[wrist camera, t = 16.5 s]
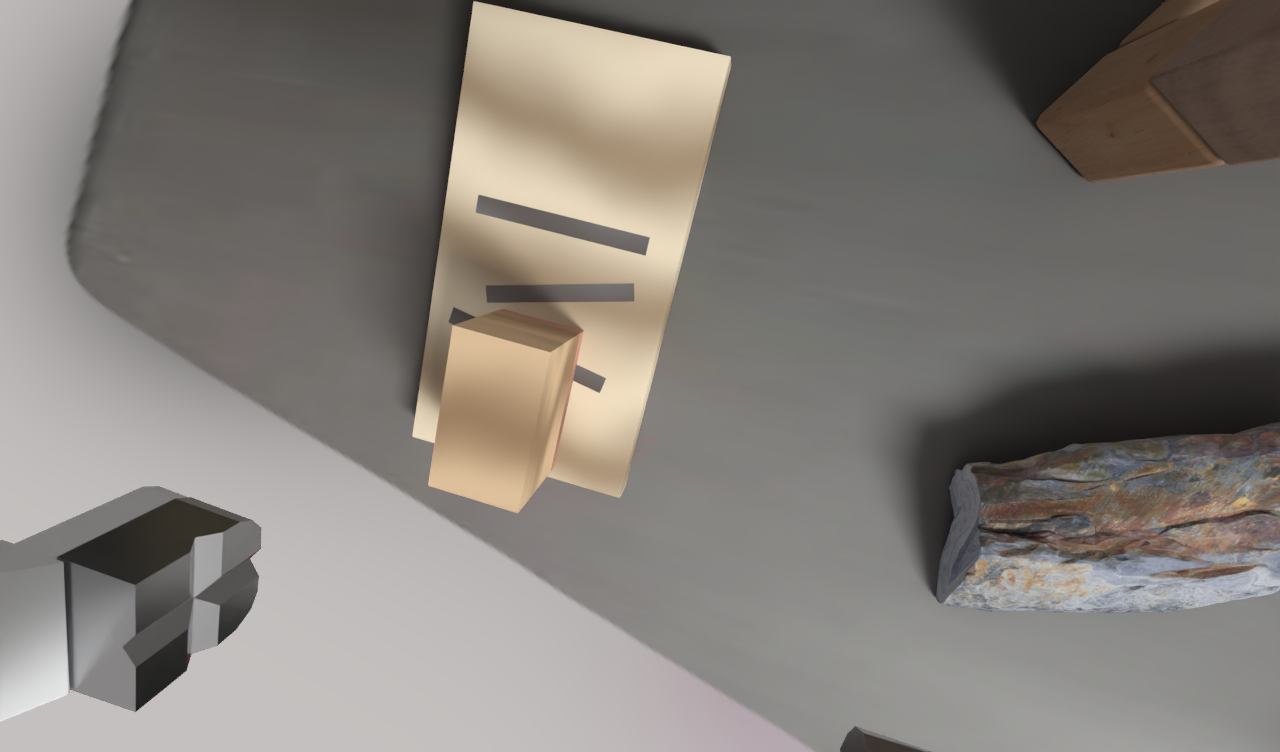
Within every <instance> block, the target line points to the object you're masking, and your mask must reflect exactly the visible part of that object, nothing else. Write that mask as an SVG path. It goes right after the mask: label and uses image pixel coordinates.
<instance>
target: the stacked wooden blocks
mask: <svg viewBox="0 0 1280 752" xmlns="http://www.w3.org/2000/svg"><path fill="white" fill-rule="evenodd" d="M1036 124H1037V127H1038V128H1039V129H1040V130H1041V132H1042V133H1043V134H1044V135H1045V136H1046V137H1047V138H1048V139H1049V140H1050V141H1051V142H1052V143H1053V144H1054V145H1055V147H1056V148H1057V149H1058V150H1059V151H1060V152H1061V153H1062V154H1063V155H1064V156H1065V157H1066V158H1067V159H1068V160H1069V162H1070V163H1071V164H1072V165H1073V166H1074V167H1075V168H1076V169H1077V170H1078V171H1079V172H1080V173H1081V174H1082V176H1083V177H1084V178H1085V179H1086V180H1087V181H1090V182H1093V183H1096V182H1104V181H1111V180H1119V179H1126V178H1134V177H1141V176H1149V175H1156V174H1164V173H1171V172H1178V171H1186V170H1193V169H1201V168H1208V167H1216V166H1219V165H1222V164H1224V163H1227V164H1229V165H1238V164H1246V163H1253V162H1261V161H1268V160H1276V159H1280V0H1166V1H1165V2H1164V3H1163V4H1162V5H1161V6H1159V7H1158V8H1157V9H1156V10H1155V11H1154V12H1153V13H1152V14H1151V15H1150V16H1148V17H1147V18H1146V19H1145V20H1144V21H1143V22H1142V23H1141V24H1140V25H1139V26H1137V27H1136V28H1135V29H1134V30H1133V31H1132V32H1131V33H1130V34H1129V35H1128V36H1126V37H1125V38H1124V39H1123V40H1122V42H1121V43H1120V45H1119V46H1118V49H1117V50H1115V51H1113V52H1111V53H1109V54H1107V55H1105V56H1104V57H1103V58H1102V59H1101V60H1100V61H1099V62H1098V63H1097V64H1096V65H1094V66H1093V67H1092V68H1091V69H1090V70H1089V71H1088V72H1087V73H1086V74H1085V75H1083V76H1082V77H1081V78H1080V79H1079V80H1078V81H1077V82H1076V83H1075V84H1074V85H1072V86H1071V87H1070V88H1069V89H1068V90H1067V91H1066V92H1065V93H1064V94H1063V95H1061V96H1060V97H1059V98H1058V99H1057V100H1056V101H1055V102H1054V103H1053V104H1052V105H1050V106H1049V107H1048V108H1047V109H1046V110H1045V111H1044V112H1043V113H1042V114H1041V115H1040V116H1039V118H1038V120H1037V122H1036Z"/></svg>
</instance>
